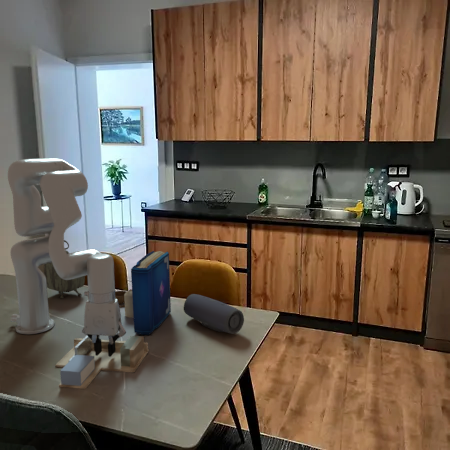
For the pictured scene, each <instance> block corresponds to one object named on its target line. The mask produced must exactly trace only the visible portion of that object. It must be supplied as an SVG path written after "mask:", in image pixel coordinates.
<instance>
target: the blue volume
mask: <svg viewBox="0 0 450 450" xmlns="http://www.w3.org/2000/svg"><path fill="white" fill-rule="evenodd" d="M135 264H136V265H133V266H132V267H131V268H130V275H131V289H132V298H133V316H134V318H133V333H135V334H138V335H143V336H144V335H151V334H152V333H153V332H154V331H155V330H157V329H158V328H159V327H160V326H161V325H162V324H163V322H164V321H165V320H166V319H167V318H168V316H169V315H170V314H171V311H172V309H171V280H170V277H171V276H170V275H171V273H170V252H168V251H166V252H164V251H160V250H159V251H155V250H152V251H151V252H149V253H147V254H145V255H143V257H142V258H140V259H139V260H138V261H137V262H136V263H135Z"/></svg>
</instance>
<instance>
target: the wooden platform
mask: <svg viewBox="0 0 450 450" xmlns="http://www.w3.org/2000/svg"><path fill="white" fill-rule="evenodd" d="M84 338H85V337H83V338H82V337H81V338H80V337H75V338H74V339H73V347H72V348H71V349H70V350H69V351H68V352H67V353H66V354H65V355H63V356H62V358H61V359H60V360H58V362H56V363H55V367H56V368H57V367H58V368H63V367H64V366H65V365H66V364H67V363H68V361H69V360H70V359H71V358H72V357H73V356H74V355H75V348H74V347H75V346H76V345H77V344H78V343H79V342H81V341H82V340H83V339H84ZM101 343H102V352H101V353H100V354H99V355H98V356H96V355H95V351H94V343H93V342H92V340H91V350H90V351H89V352H88V353H87V354H86V356H94V361H95V370H94V371H93V372H92V373H91V374H90V375H89V377H88V378H87V379H86V380H85V381H84V382H83V384H82V385H81V386H76V385H63V384H61V382H60V383H59V384H58V387H60V388H70V389H81V390H82V389H83V390H86V389H87V388H88V387H89V386H90V384H91V383H92V381H94V379H95V378H96V377H97V375H98V374H99V373H100V372H101V371H110V372H121V373H122V372H124V373H135V372H136V371H137V369H138V368H139V366H140V365H141V363H142V362H143V360H144V359H145V357H146V356H147V354H148V352H149V350H150V349H149V343H148V342H145V338H144V336H138V335H135V336H134V335H130V336H129V337H128V338H127V339H126V340H116V341H115V348H116V350H115V352H114V353H113V355H112V356H111V357H109V356H108V344H109V339H101Z"/></svg>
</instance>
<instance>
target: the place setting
mask: <svg viewBox="0 0 450 450" xmlns="http://www.w3.org/2000/svg"><path fill="white" fill-rule="evenodd" d="M126 292H127V290H126V291H125V290H115V299H117V300H118V303H119V308H120V309H121V308H125V301H124V294H125V293H126Z"/></svg>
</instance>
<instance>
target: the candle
mask: <svg viewBox="0 0 450 450" xmlns="http://www.w3.org/2000/svg"><path fill="white" fill-rule="evenodd" d="M124 301H125V303H124V305H125V307H124V316H125V317H126V318H129V319H134V316H133V298H132V288H131V289H128V290H126V293H125V294H124Z"/></svg>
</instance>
